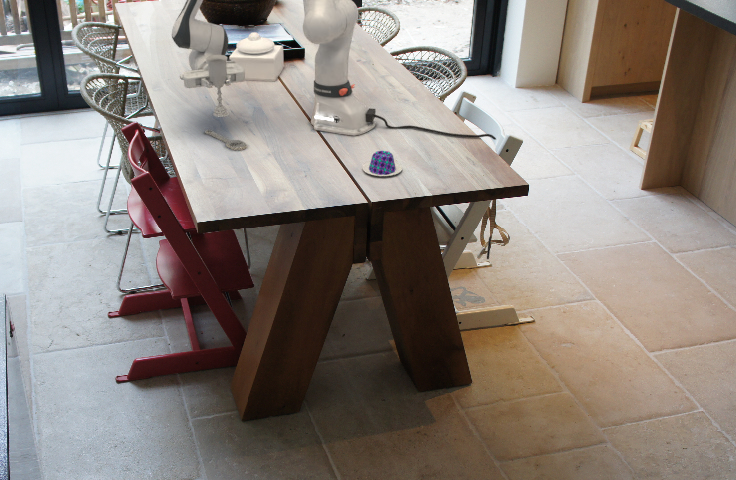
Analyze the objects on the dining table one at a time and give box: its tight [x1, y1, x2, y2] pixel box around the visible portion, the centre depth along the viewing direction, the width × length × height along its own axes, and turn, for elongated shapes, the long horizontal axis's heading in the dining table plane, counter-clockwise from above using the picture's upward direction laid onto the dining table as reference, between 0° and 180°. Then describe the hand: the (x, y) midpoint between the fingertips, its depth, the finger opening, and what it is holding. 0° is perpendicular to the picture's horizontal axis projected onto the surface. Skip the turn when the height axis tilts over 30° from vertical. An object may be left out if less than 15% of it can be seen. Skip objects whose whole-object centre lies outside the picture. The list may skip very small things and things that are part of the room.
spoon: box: [205, 129, 247, 151], centre depth 278 cm, size 21×5×1 cm, turn 39°
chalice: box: [206, 55, 230, 118], centre depth 270 cm, size 7×7×18 cm
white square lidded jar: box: [228, 31, 285, 82], centre depth 331 cm, size 18×18×16 cm
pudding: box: [362, 150, 403, 177], centre depth 254 cm, size 12×12×5 cm
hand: (219, 84), depth 269 cm, fingers closed on chalice, 5 cm apart
